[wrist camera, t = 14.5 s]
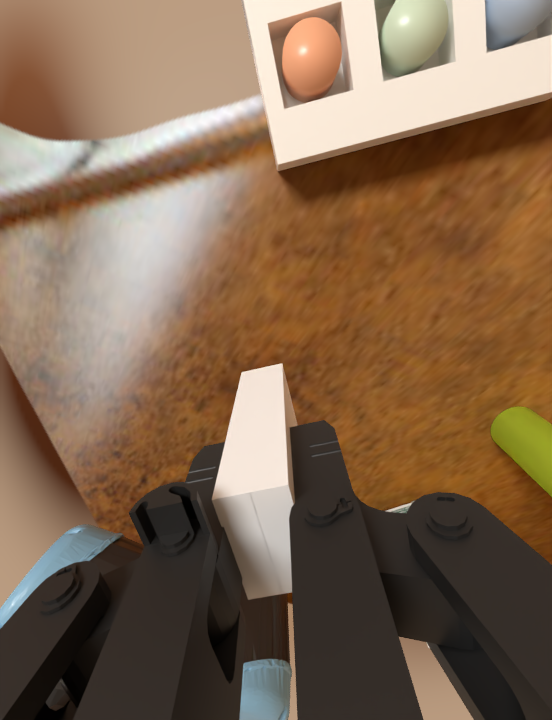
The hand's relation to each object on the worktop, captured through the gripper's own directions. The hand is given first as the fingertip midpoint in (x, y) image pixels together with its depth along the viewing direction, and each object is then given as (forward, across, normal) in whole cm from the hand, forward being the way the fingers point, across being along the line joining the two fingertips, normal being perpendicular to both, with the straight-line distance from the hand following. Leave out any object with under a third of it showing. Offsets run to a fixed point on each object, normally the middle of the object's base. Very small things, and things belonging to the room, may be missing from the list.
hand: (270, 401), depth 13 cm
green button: (+27, +16, +18) cm, 36 cm away
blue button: (+27, +25, +18) cm, 41 cm away
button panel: (+28, +16, +18) cm, 37 cm away
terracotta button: (+27, +7, +18) cm, 33 cm away
